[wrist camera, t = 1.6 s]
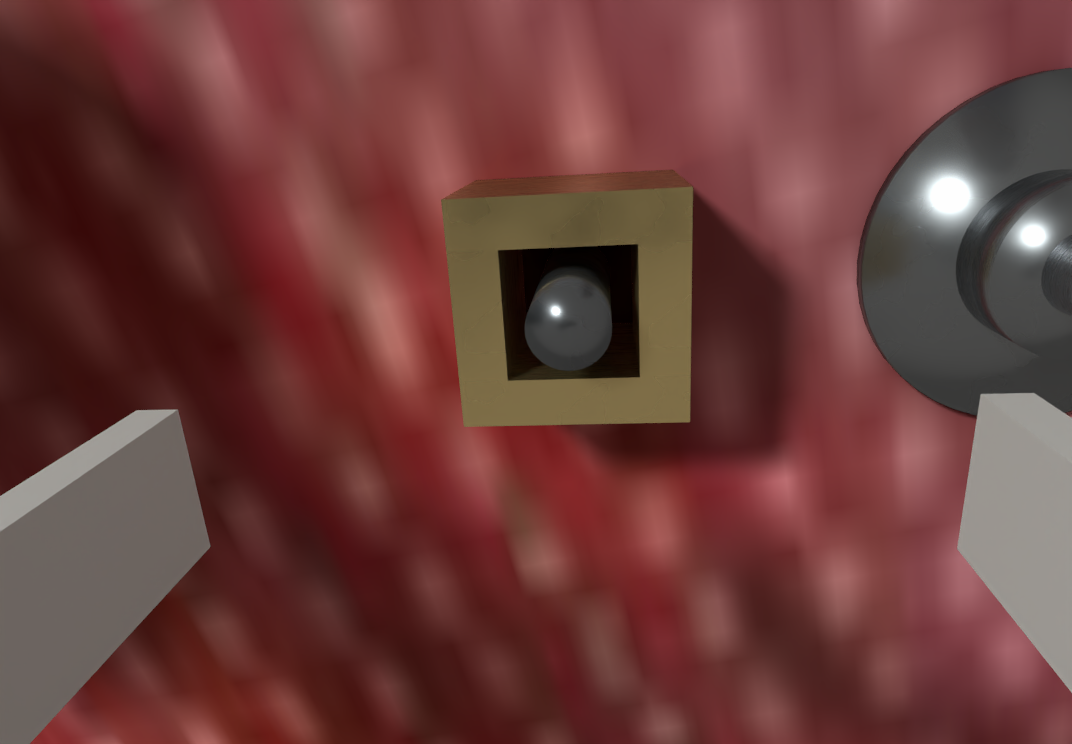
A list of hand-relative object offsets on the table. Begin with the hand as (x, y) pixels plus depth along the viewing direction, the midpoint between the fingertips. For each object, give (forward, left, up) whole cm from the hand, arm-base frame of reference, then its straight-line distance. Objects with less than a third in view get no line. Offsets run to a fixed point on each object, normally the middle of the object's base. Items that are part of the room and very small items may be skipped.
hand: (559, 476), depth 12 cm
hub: (+16, 0, -16) cm, 22 cm away
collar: (0, 0, -16) cm, 16 cm away
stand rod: (0, 0, -16) cm, 16 cm away
